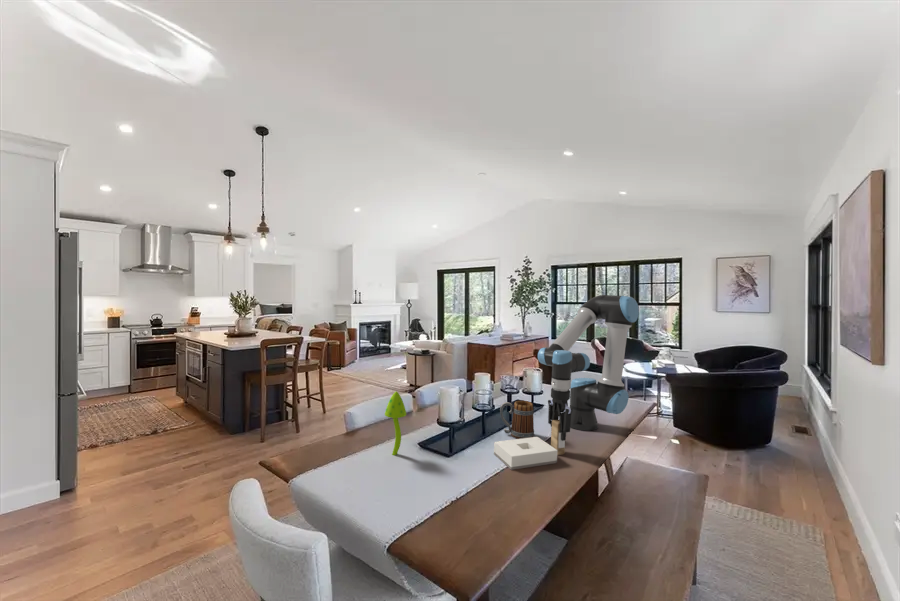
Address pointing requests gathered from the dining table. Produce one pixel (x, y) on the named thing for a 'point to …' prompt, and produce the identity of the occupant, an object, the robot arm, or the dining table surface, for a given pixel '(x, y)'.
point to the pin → (556, 437)
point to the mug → (520, 419)
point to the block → (525, 452)
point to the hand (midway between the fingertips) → (557, 445)
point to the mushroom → (396, 417)
